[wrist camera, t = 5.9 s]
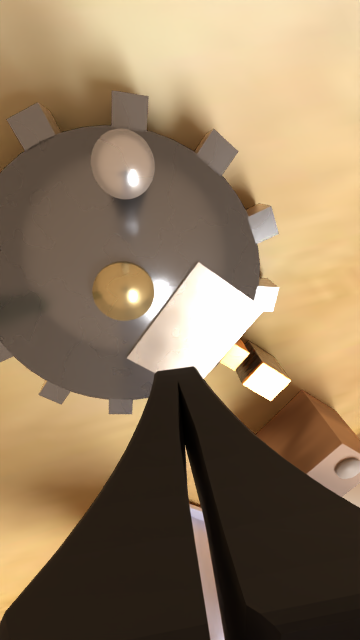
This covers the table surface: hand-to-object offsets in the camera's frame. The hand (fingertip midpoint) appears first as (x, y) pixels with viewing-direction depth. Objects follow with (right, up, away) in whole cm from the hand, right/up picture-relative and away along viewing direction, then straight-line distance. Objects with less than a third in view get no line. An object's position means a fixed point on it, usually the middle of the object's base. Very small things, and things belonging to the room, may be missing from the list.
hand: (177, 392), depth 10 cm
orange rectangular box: (+5, 0, +10) cm, 11 cm away
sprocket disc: (-3, +5, +7) cm, 9 cm away
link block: (+9, -6, +13) cm, 17 cm away
